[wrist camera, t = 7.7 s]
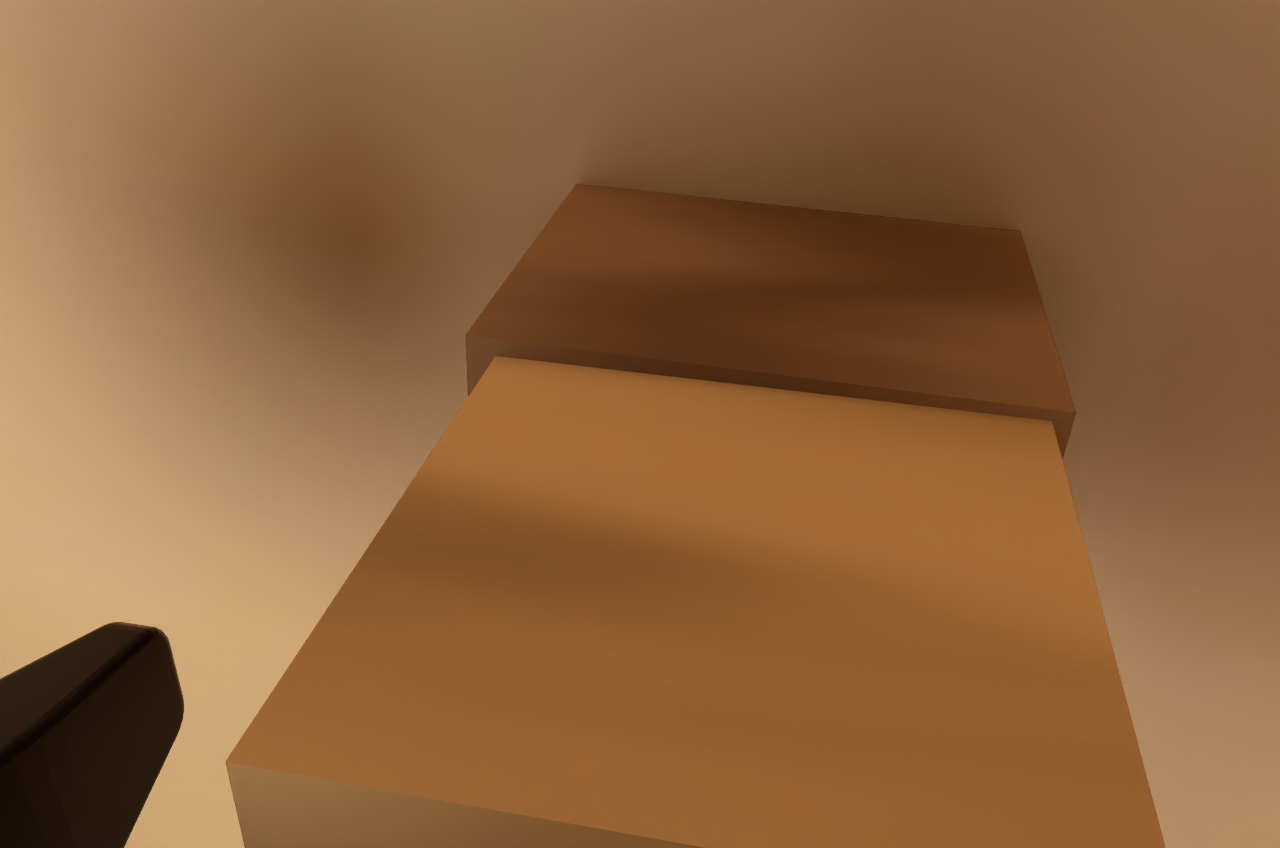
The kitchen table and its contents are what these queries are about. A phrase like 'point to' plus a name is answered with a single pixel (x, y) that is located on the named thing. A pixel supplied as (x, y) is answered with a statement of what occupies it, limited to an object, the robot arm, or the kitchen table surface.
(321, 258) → the kitchen table surface
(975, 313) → the walnut block
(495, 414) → the oak cube
